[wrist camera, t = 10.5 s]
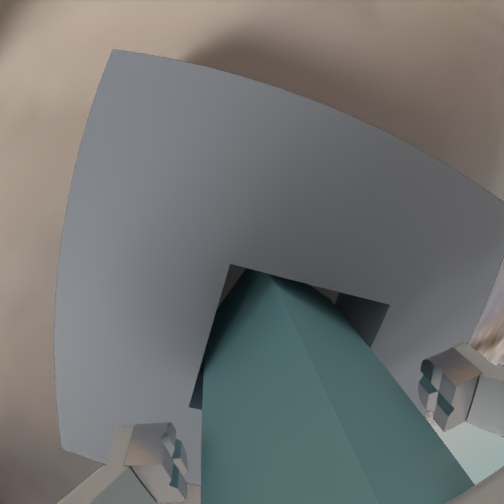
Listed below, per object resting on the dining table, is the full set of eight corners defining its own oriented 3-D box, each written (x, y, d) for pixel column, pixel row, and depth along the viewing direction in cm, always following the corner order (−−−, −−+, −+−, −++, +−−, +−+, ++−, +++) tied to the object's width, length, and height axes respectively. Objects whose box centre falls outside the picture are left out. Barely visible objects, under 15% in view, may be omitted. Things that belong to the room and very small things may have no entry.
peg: (277, 362, 15) (354, 605, 3) (206, 324, 14) (204, 615, 2) (329, 298, 14) (500, 520, 3) (258, 251, 13) (398, 546, 2)
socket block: (342, 433, 18) (367, 488, 13) (89, 388, 16) (61, 448, 11) (450, 197, 15) (517, 211, 10) (146, 86, 12) (112, 49, 7)
